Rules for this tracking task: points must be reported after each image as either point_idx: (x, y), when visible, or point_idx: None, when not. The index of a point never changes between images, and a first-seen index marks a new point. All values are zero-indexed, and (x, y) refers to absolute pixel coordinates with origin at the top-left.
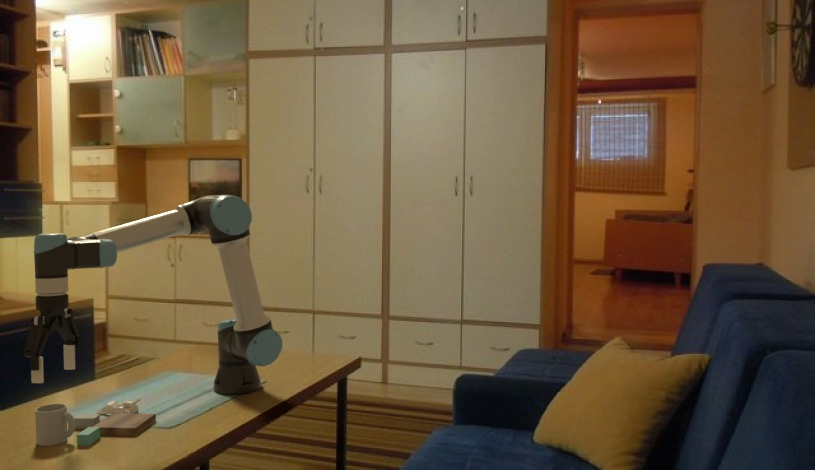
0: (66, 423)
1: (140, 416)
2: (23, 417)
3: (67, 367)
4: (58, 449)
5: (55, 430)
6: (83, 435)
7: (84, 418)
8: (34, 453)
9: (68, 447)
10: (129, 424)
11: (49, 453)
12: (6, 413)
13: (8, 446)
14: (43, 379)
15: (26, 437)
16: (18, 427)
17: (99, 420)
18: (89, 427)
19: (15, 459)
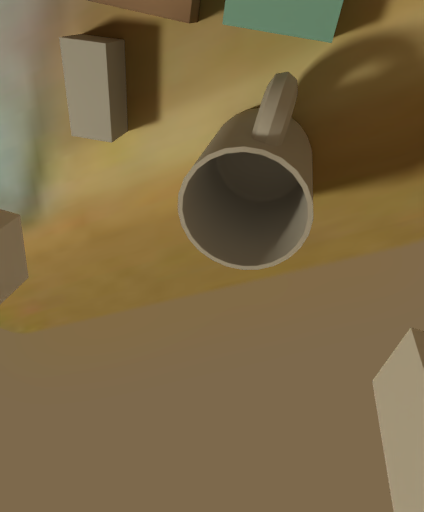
0: (251, 123)
1: None
2: (49, 294)
3: (15, 265)
4: (356, 105)
5: (305, 148)
6: (341, 4)
7: (108, 92)
8: (374, 179)
9: (343, 70)
10: None
11: (395, 125)
12: (30, 332)
13: (279, 270)
14: (419, 346)
15: None
16: (123, 286)
17: (73, 35)
18: (232, 15)
19: (417, 220)
